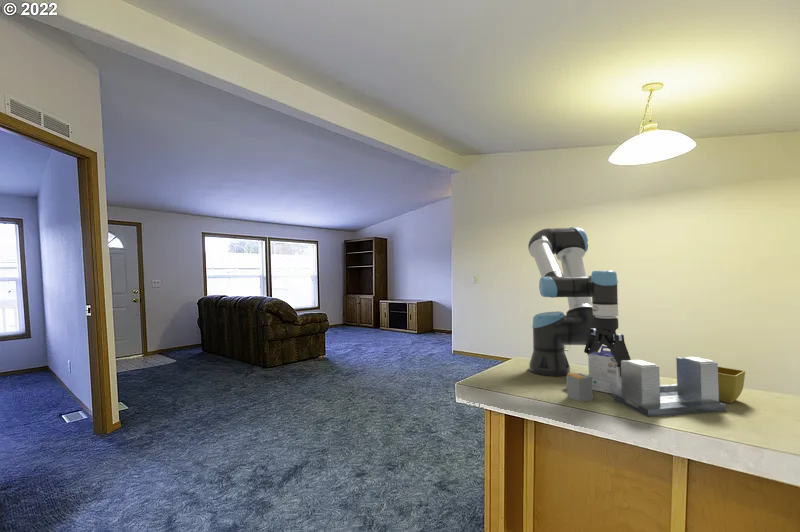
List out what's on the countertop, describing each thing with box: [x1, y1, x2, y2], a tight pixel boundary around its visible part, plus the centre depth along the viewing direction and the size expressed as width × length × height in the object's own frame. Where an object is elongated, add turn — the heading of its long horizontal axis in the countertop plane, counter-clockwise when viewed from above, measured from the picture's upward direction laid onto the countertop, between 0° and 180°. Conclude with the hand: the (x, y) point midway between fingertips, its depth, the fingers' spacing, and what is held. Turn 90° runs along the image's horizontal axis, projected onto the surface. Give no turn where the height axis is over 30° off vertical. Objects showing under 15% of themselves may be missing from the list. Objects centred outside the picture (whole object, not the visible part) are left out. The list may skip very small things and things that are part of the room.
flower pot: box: [718, 366, 746, 404], centre depth 114 cm, size 9×9×9 cm
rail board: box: [612, 356, 727, 418], centre depth 110 cm, size 14×24×13 cm, turn 97°
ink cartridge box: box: [587, 345, 622, 395], centre depth 124 cm, size 10×6×14 cm, turn 45°
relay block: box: [566, 371, 594, 403], centre depth 117 cm, size 5×5×8 cm
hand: (607, 380), depth 124 cm, fingers open, 13 cm apart
